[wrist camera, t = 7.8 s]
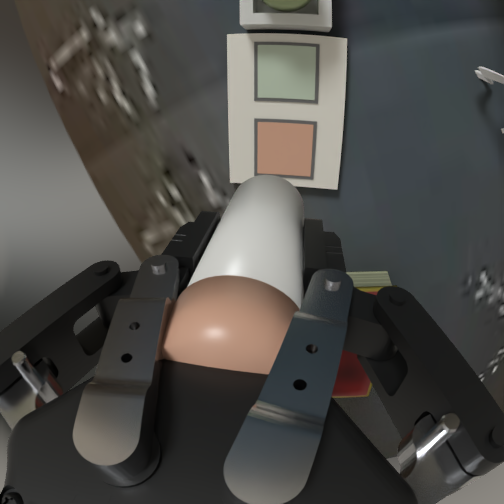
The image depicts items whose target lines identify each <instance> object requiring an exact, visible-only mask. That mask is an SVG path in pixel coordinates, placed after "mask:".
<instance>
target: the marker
mask: <svg viewBox="0 0 504 504" xmlns="http://www.w3.org/2000/svg"><path fill="white" fill-rule="evenodd" d="M303 227H304V203H303V199H302V197H301V195H300V193H299V191H298V190H297V189H296V188H295V187H294V186H293V185H292V184H291V183H290V182H288V181H287V180H285V179H283V178H281V177H278V176H274V175H258V176H254V177H252V178H249V179H248V180H246V181H244V182H243V183H242V184H241V185H240V186H239V187H238V188H237V190H236V191H235V193H234V195H233V197H232V199H231V201H230V203H229V205H228V207H227V209H226V210H225V212H224V214H223V216H222V218H221V220H220V222H219V224H218V226H217V228H216V230H215V232H214V234H213V236H212V238H211V240H210V242H209V244H208V246H207V248H206V250H205V252H204V254H203V256H202V258H201V260H200V262H199V264H198V266H197V268H196V270H195V272H194V274H193V276H192V278H191V280H190V282H189V284H188V286H187V288H186V289H185V290H184V291H183V292H182V293H181V294H180V296H179V297H178V299H177V301H176V303H175V305H174V307H173V310H172V312H171V315H170V318H169V321H168V325H167V328H166V331H165V335H164V339H163V343H162V347H161V351H162V354H163V359H167V360H172V361H178V362H183V363H189V364H195V365H201V366H207V367H214V368H220V369H228V370H235V371H243V372H251V373H260V374H269V373H270V370H271V368H272V366H273V363H274V361H275V359H276V356H277V354H278V352H279V349H280V347H281V345H282V342H283V340H284V337H285V335H286V333H287V330H288V328H289V325H290V323H291V320H292V318H293V315H294V313H295V312H296V311H298V312H299V310H300V308H301V305H302V302H303V300H304V286H303Z"/></svg>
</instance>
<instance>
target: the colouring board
mask: <svg viewBox="0 0 504 504" xmlns="http://www.w3.org/2000/svg"><path fill="white" fill-rule="evenodd" d="M227 66H228V123H229V162H230V183H243V182H244V181H246V180H248V179H249V178H252V177H254V176H258V175H274V176H278V177H281V178H283V179H285V180H287V181H288V182H290V183H291V184H292V185H293V186H299V187H312V188H324V189H335V190H337V188H338V179H339V169H340V159H341V148H342V136H343V123H344V108H345V90H346V66H347V38H339V37H329V36H318V35H304V34H279V33H252V34H227Z"/></svg>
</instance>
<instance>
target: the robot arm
mask: <svg viewBox="0 0 504 504" xmlns="http://www.w3.org/2000/svg"><path fill="white" fill-rule="evenodd" d="M219 222H220V214H219V212H204V211H202V212H201V213H200V214H199V216H198V217H197V219H196V220H195V222H188V223H186V224H185V225H183V226H182V227H180V228H179V230H178V231H177V233H176V235H175V236H174V237H173V238H172V241H170V243H169V244H168V246H167V247H166V249H165V250H164V251H163V253H162V254H161V255H156V256H153V257H150V258H148V259H146V260H145V261H144V262H143V263H142V264H141V266H140V269H139V270H138V271H131V272H122V273H121V272H120V268H119V265H118V264H117V263H116V262H114V261H101V262H97V263H95V264H93V265H91V266H90V267H88V268H87V269H86V270H84V271H82V272H81V273H80V274H78V275H77V276H75V277H74V278H72V279H71V280H69V281H68V282H66V283H65V284H64V285H62V286H61V287H59V288H58V289H57V290H55V291H54V292H52V293H51V294H50V295H48V296H47V297H46V298H44V299H43V300H41V301H40V302H39V303H37V304H36V305H35V306H33V307H32V308H31V309H29V310H28V311H27V312H25V313H24V314H22V315H21V316H20V317H19V318H17V319H16V320H15V321H13V322H12V323H11V324H9V325H8V326H7V327H6V328H4V329H3V330H2V331H1V332H0V412H1V413H2V415H3V417H4V418H5V420H6V421H7V423H8V424H9V426H10V428H11V429H12V432H11V434H10V437H9V440H8V446H7V447H8V448H7V473H6V479H5V485H4V488H3V490H2V492H1V494H0V504H436V503H437V502H439V501H440V500H442V499H443V498H445V497H446V496H448V495H451V494H452V493H454V492H456V491H458V490H460V489H462V488H463V487H465V486H467V485H468V484H470V483H472V482H474V481H475V480H477V479H478V478H480V477H481V476H483V475H485V474H486V473H488V472H489V471H491V470H492V469H494V468H495V467H497V466H498V465H500V464H501V463H502V462H504V414H503V412H502V410H501V409H500V408H499V406H498V405H497V403H496V402H495V400H494V399H493V397H492V396H491V394H490V393H489V392H488V390H487V389H486V387H485V386H484V384H483V383H482V382H481V380H480V379H479V378H478V376H477V375H476V373H475V372H474V371H473V369H472V368H471V367H470V365H469V364H468V363H467V361H466V360H465V359H464V358H463V356H462V355H461V354H460V352H459V351H458V350H457V348H456V347H455V346H454V345H453V343H452V342H451V341H450V340H449V338H448V337H447V336H446V335H445V333H444V332H443V331H442V330H441V328H440V327H439V326H438V325H437V324H436V322H435V321H434V320H433V319H432V318H431V316H430V315H429V314H428V313H427V312H426V310H425V309H424V308H423V307H422V306H421V304H420V303H419V302H418V301H417V300H416V299H415V298H414V296H413V295H412V294H411V293H409V292H408V291H406V290H404V289H402V288H399V287H395V286H388V287H383V288H381V289H380V290H379V291H378V293H377V295H374V294H370V293H367V292H364V291H361V290H359V289H357V288H356V287H354V286H353V285H354V283H353V280H352V278H351V277H350V276H349V275H348V274H346V268H345V263H344V257H343V252H342V248H341V241H340V239H339V237H338V236H337V235H336V234H335V233H334V232H324V231H323V223H322V220H320V219H308V218H304V227H303V286H304V300H303V302H302V305H301V308H300V310H299V312H298V311H296V312H295V313H294V315H293V318H292V320H291V323H290V325H289V328H288V330H287V333H286V335H285V337H284V340H283V342H282V345H281V347H280V349H279V352H278V354H277V356H276V359H275V361H274V363H273V366H272V368H271V370H270V373H269V374H260V373H251V372H243V371H235V370H228V369H220V368H214V367H207V366H201V365H195V364H189V363H183V362H178V361H172V360H167V359H163V354H162V351H161V347H162V343H163V339H164V335H165V331H166V328H167V325H168V321H169V318H170V315H171V312H172V310H173V307H174V305H175V303H176V301H177V299H178V297H179V296H180V294H181V293H182V292H183V291H184V290H185V289H186V288H187V286H188V284H189V282H190V280H191V278H192V276H193V274H194V272H195V270H196V268H197V266H198V264H199V262H200V260H201V258H202V256H203V254H204V252H205V250H206V248H207V246H208V244H209V242H210V240H211V238H212V236H213V234H214V232H215V230H216V228H217V226H218V224H219ZM94 306H95V307H96V310H97V312H98V315H99V317H98V318H97V319H96V320H95V321H93V322H92V323H91V324H90V325H88V326H87V327H86V328H85V329H83V330H82V331H81V332H80V333H79V334H77V335H76V336H75V334H74V331H73V327H74V324H75V322H76V321H77V320H78V319H79V318H80V317H81V316H83V315H84V314H85V313H86V312H88V311H89V310H90V309H92V308H93V307H94ZM342 350H345V351H348V352H351V353H354V354H357V358H358V360H359V362H360V364H361V366H362V367H363V369H364V371H365V373H366V374H367V376H368V378H369V380H370V381H371V383H372V385H373V387H374V389H375V390H376V392H377V394H378V396H379V397H380V399H381V401H382V403H383V405H384V406H385V408H386V410H387V412H388V414H389V416H390V417H391V419H392V421H393V423H394V425H395V427H396V428H397V430H398V432H399V434H400V436H401V438H402V440H401V442H400V444H399V446H398V450H397V456H398V460H399V464H400V474H399V473H398V472H397V471H396V470H395V468H394V467H393V466H392V465H391V464H390V463H389V462H388V461H387V460H386V458H385V457H384V456H383V455H382V454H381V453H380V452H379V451H378V449H377V448H376V447H375V446H374V445H373V444H372V443H371V441H370V440H369V439H368V438H367V437H366V436H365V435H364V434H363V432H362V431H361V430H360V429H359V428H358V427H357V426H356V424H355V423H354V422H353V421H352V420H351V419H350V417H349V416H348V415H347V414H346V413H345V412H344V410H343V409H342V408H341V407H340V406H339V405H338V403H337V402H336V401H335V400H334V399H333V398H332V392H333V388H334V384H335V380H336V376H337V372H338V368H339V363H340V359H341V354H342ZM97 364H98V365H97ZM96 365H97V368H96V372H95V375H94V377H92V378H90V379H89V380H87V381H85V382H83V383H82V384H80V385H78V386H76V387H75V388H73V389H71V390H69V389H70V388H72V386H74V385H75V384H76V383H77V382H78V381H79V380H80V379H81V378H82V377H84V376H85V375H86V374H87V373H88V372H89V371H90V370H91V369H92V368H94V366H96ZM68 390H69V391H68Z"/></svg>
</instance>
